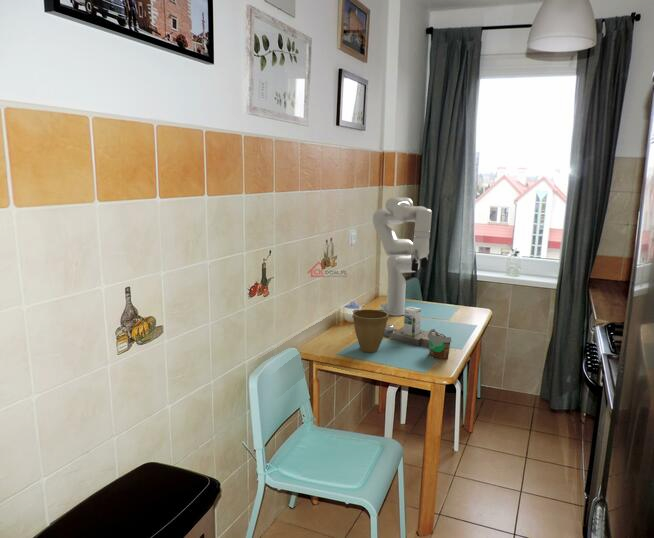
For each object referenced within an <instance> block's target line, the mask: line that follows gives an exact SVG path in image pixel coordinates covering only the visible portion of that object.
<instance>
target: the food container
mask: <svg viewBox="0 0 654 538" xmlns="http://www.w3.org/2000/svg"><path fill="white" fill-rule="evenodd" d="M427 337H428V338H429V349H428V350H429V351H428V352H429V353H428V354H429V355H430V356H431V358H432V357H433V358H432V359H435V360H439V361H440V360H441V361H442V360H443V361H444V360H445V361H446V360H449V355H450V354H449V353H450V348H451V347H450V346H451V343H452V336H446V335H445V334H443V333H440V332H437V331H436V328H433V329H432V328H431V329H429V333H428V336H427ZM430 356H429V357H430Z"/></svg>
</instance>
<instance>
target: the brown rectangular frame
mask: <svg viewBox="0 0 654 538" xmlns="http://www.w3.org/2000/svg"><path fill="white" fill-rule="evenodd" d="M403 330H404V326H403V327H401V328H398V330H397V331H395V332H393V333H391V337H395V338H400V339H404V340H408V341H413V342H417V343H419V342H420V345H419V346H424V347H429V338H428V337H427V336H428V333H429V331H430V330H429V331H428V330H423V329H420V334H418V335H417V336H411V335H407V334H403Z"/></svg>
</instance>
